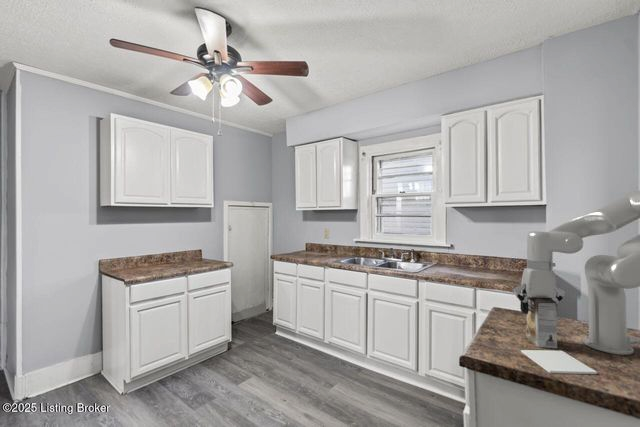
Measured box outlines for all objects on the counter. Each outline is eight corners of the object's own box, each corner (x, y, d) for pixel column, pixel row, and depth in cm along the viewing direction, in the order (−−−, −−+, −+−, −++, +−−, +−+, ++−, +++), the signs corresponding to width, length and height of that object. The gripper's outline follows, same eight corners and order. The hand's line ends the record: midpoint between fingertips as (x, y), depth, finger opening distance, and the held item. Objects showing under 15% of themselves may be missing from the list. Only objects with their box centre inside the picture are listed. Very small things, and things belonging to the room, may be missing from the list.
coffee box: (525, 337, 115) (524, 294, 115) (544, 338, 114) (543, 295, 114) (537, 347, 106) (536, 300, 106) (558, 348, 105) (557, 301, 105)
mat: (561, 352, 102) (561, 350, 102) (597, 374, 88) (597, 372, 88) (521, 351, 103) (521, 349, 103) (549, 373, 89) (549, 370, 89)
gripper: (557, 264, 113) (556, 311, 113) (508, 263, 114) (507, 309, 114) (572, 268, 106) (571, 317, 106) (520, 266, 107) (519, 315, 107)
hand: (538, 313), depth 110 cm, fingers open, 9 cm apart
